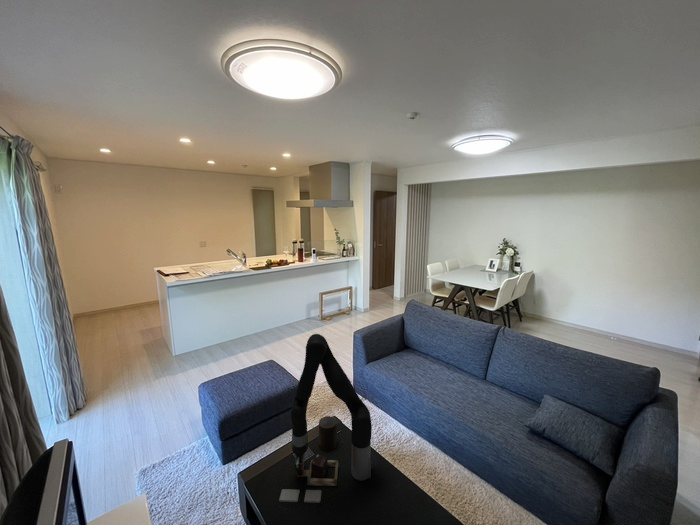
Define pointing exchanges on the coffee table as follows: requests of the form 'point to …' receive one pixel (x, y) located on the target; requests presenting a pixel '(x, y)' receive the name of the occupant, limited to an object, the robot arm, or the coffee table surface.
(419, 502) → the coffee table surface
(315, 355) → the robot arm
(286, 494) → the pair of grey tiles
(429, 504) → the coffee table surface
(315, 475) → the box
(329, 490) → the coffee table surface
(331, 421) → the pillar candle
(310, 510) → the coffee table surface
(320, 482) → the wooden open tray
